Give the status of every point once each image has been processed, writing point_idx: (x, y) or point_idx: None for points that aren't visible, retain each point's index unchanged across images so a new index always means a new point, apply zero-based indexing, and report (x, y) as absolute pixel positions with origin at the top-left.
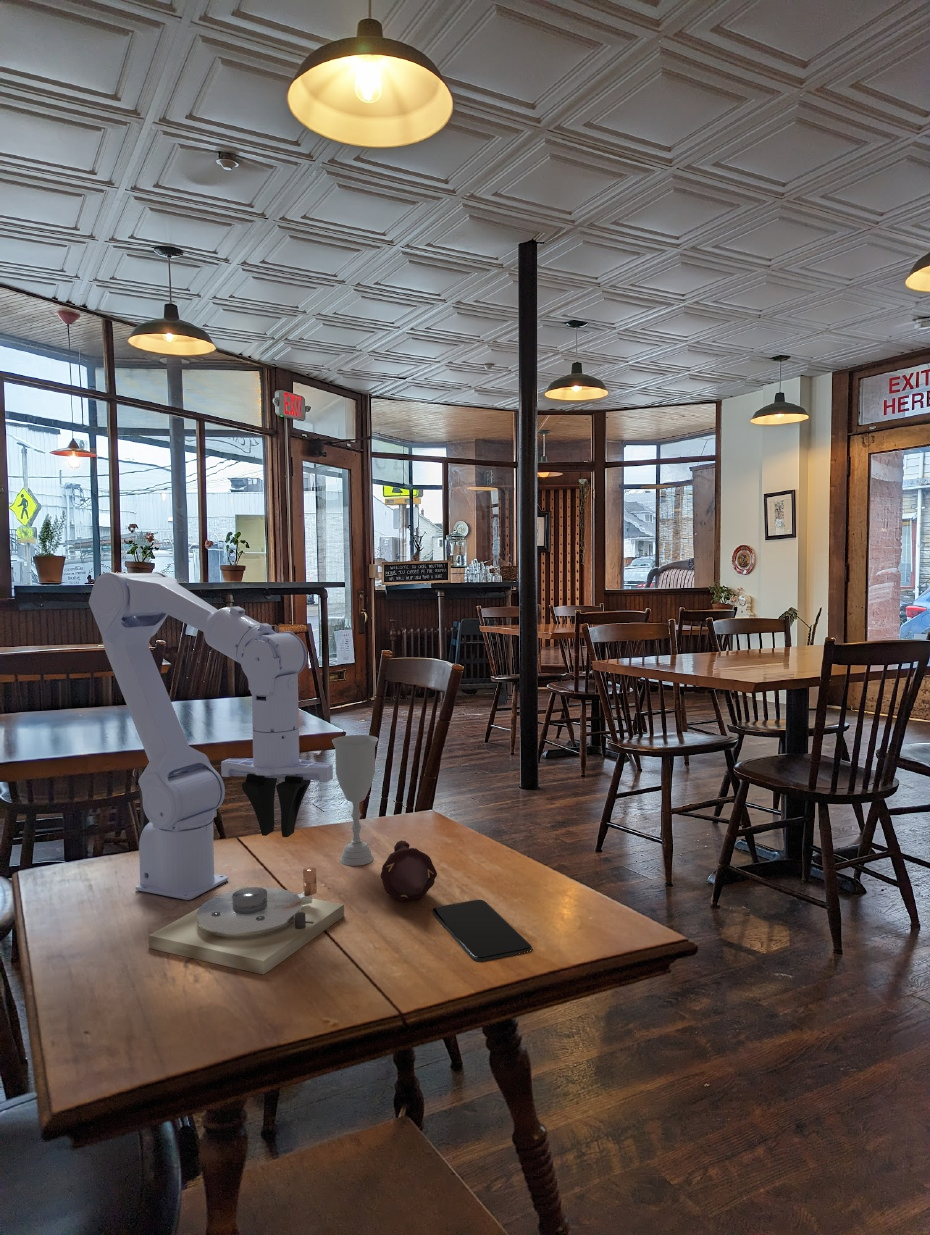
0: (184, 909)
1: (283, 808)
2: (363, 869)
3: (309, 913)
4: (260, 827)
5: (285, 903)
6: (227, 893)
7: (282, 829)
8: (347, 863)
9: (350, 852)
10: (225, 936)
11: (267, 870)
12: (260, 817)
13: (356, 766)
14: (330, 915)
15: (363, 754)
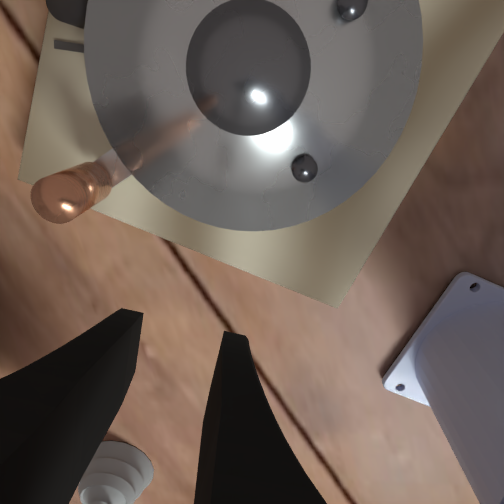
0: (463, 224)
1: (40, 391)
2: None
3: (89, 114)
4: (246, 353)
5: (143, 101)
6: (349, 187)
7: (123, 324)
8: (127, 448)
9: (114, 474)
10: None
11: (300, 427)
12: (238, 384)
13: None
14: (32, 111)
15: None
